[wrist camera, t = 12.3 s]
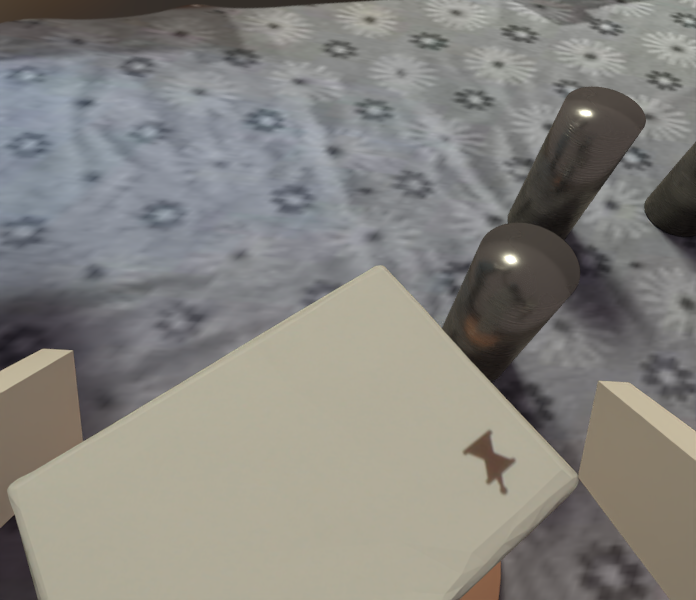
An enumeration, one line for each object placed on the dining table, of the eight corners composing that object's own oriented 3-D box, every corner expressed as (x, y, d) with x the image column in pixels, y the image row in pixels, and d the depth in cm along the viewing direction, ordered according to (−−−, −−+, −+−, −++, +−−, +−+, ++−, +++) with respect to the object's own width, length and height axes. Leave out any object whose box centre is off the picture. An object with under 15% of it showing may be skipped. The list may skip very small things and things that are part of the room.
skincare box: (358, 434, 18) (390, 249, 7) (428, 535, 16) (605, 483, 5) (216, 535, 16) (-15, 481, 5) (280, 662, 14) (119, 948, 4)
